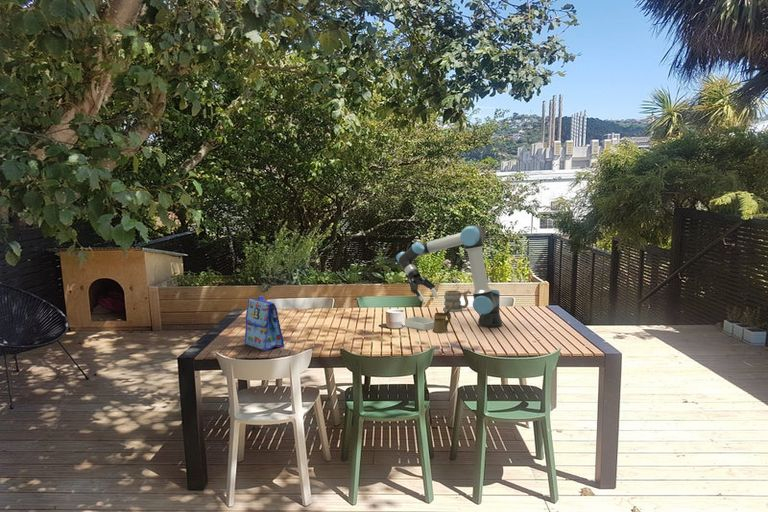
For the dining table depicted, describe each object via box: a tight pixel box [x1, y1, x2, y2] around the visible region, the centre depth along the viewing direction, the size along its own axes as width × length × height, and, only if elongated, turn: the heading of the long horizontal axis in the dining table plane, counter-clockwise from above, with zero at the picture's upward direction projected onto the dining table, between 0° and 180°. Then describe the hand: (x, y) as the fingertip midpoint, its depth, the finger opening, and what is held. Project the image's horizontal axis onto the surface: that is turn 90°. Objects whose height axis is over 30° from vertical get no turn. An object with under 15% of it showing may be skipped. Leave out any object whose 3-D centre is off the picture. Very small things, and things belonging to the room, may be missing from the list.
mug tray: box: [403, 315, 435, 332], centre depth 344 cm, size 20×15×4 cm
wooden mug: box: [432, 303, 455, 334], centre depth 329 cm, size 9×14×18 cm, turn 84°
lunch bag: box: [244, 295, 285, 352], centre depth 305 cm, size 22×14×29 cm, turn 45°
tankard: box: [443, 289, 473, 313], centre depth 390 cm, size 20×13×15 cm, turn 73°
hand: (430, 298), depth 336 cm, fingers open, 13 cm apart
